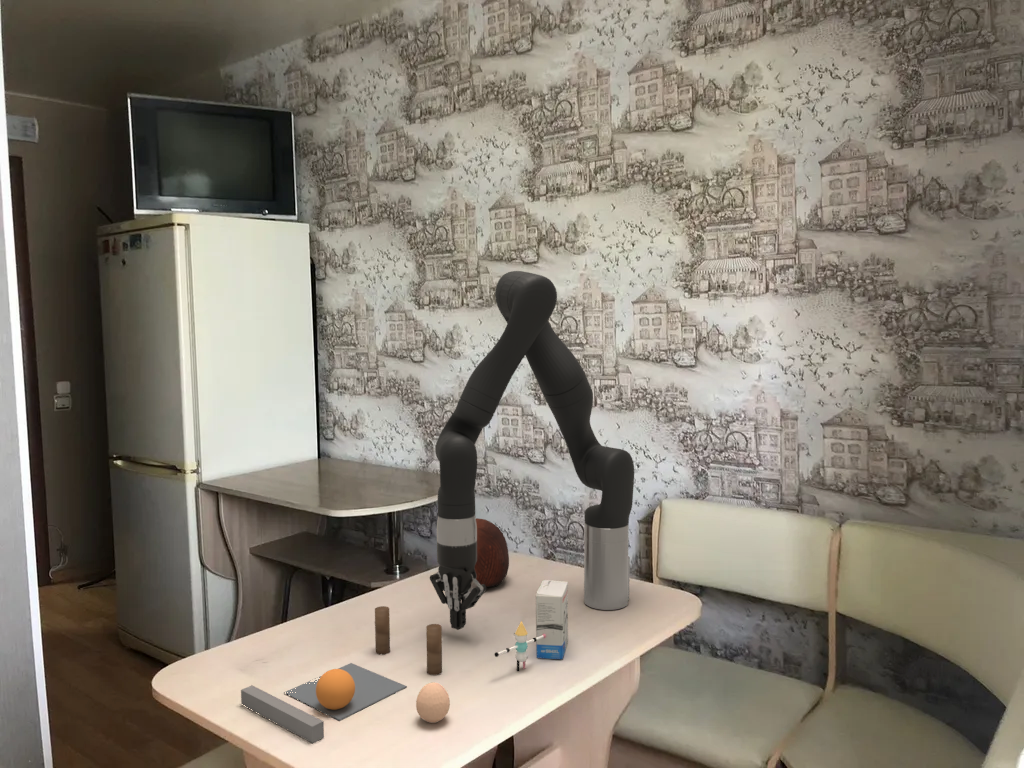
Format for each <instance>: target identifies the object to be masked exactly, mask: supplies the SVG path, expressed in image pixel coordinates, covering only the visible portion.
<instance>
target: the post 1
mask: <svg viewBox="0 0 1024 768" xmlns="http://www.w3.org/2000/svg"><path fill="white" fill-rule="evenodd" d="M390 625H391V624H390V607H389V606H385V605H384V606H383V605H382V606H377V607H376V608H374V633H375V634H374V635H375V636H374V637H375V646H374V647H375V654H377V655H380V654H382V655H387V654H390V652H391V637H390V635H391V633H390V632H391V631H390V630H391V628H390Z"/></svg>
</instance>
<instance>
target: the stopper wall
mask: <svg viewBox="0 0 1024 768" xmlns="http://www.w3.org/2000/svg"><path fill="white" fill-rule="evenodd" d="M240 699H241V700H240V701H241V703H240V704H243V705H245V706H246V707H248V708H250V709H252V710H253V711H252V710H251V711H252V712H254V711H255V712H257V713H259V714H260V716H261V715H262V716H261V717H263V716H264V717H263V718H265V717H266V718H265V719H267V720H268V719H270V720H271V721H270V720H269V721H270V722H272V723H274V722H275V723H274V724H276V723H277V724H276V725H278V726H280V727H281V728H283V727H284V728H283V729H285V728H286V729H285V730H287V729H288V730H287V731H289V732H291V733H293V734H295V735H297V736H299V737H301V738H302V739H304V740H306V741H308V742H309V743H311V744H314V743H316V742H318V741H320V740H321V739H325V727H324V722H325V721H323V720H322V719H320V718H318V717H316V716H314V715H312V714H310V713H308V712H306V711H304V710H302V709H301V708H298V707H296V706H294V705H292V704H291V703H288V702H287V701H284V700H282V699H281V698H278V697H277V696H274V695H273V694H271V693H268V692H267V691H265V690H263V689H260V688H259V687H256V686H255V685H252V684H251V685H249V686H247V687H245V688H242V689H241V690H240ZM246 707H245V708H246ZM248 708H247V709H248ZM250 709H249V710H250ZM255 712H254V713H255ZM257 713H256V714H257ZM259 714H258V715H259Z"/></svg>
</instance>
